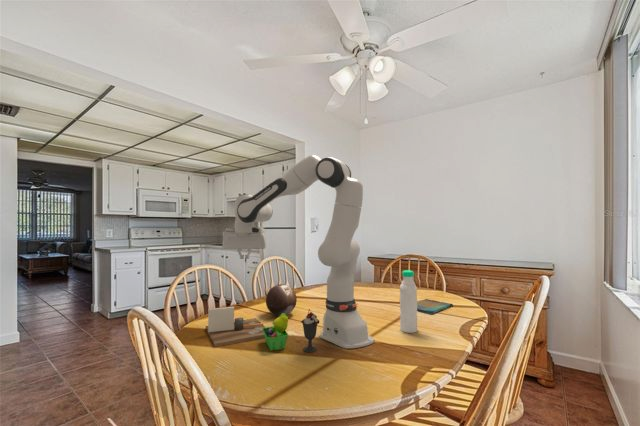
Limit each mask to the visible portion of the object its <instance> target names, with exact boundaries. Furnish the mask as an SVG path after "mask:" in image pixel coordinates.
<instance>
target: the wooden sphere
mask: <svg viewBox="0 0 640 426" xmlns="http://www.w3.org/2000/svg"><path fill="white" fill-rule="evenodd" d="M265 304H266V308H267V309H268V311H269V312H270V313H271V314H272V315H274V316H277V317H280V315H281V314H282V313H284V314H286V315H287V316H288V315H289V314H291V313H292V312H293V311H294V309H295V307H296V305H297V295H296V291H295V290H294V288H292V287H291V286H290V285H287V284H284V283H283V284H282V283H280V284H276V285H274V286H273V287H271V288H270V289H269V290H268V291H267V294H266V297H265Z"/></svg>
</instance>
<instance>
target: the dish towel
mask: <svg viewBox="0 0 640 426" xmlns="http://www.w3.org/2000/svg"><path fill="white" fill-rule="evenodd" d="M451 306H452V307H453V306H454V305H453V303H450V302H444V301H438V300H435V299H429V298H425V299H421V300H417V311H418V312H417V313H421V314H427V315H430V316H431V315H436V314H438V313H440V312H441V311H443V310H446V309H449V308H451Z"/></svg>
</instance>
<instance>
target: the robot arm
mask: <svg viewBox="0 0 640 426" xmlns="http://www.w3.org/2000/svg"><path fill="white" fill-rule="evenodd" d="M317 181H320V182H321V183H323V184H324V185H327V186H329V187H331V188H333V189H334V190H335V200H334V206H333V211H332V212H333V213H332V218H331V222H330V225H329V228H328V230H327V233H326V236H325V237H324V240H323V242H321V244H320V245H319V247H318V250H317V257H318V260H319V262H321V264H323V265H324V266H327V267H330V271H329V274H328V276H327V277H326V278H327V279H326V299H325V308H326V310H325V312H324V314H323V319H322V320H323V321H322V330H321V331H322V332H321V333H320V334H319V338H320V339H323V340H324V341H327V342H330V343H332V344H333V345H336V346H339V347H340V348H342V349H357V348H363V347H367V346H369V345H372V344H373V343H374V342H375V338H374V337H373V336H371V335H370V334H369V331H368V330H369V329H368V324H367V321H366V319H363V317H362V316H361V314H360V313H359V312H358V310H357V309H358V308H357V307H358V303H357V302H356V300H355V295H354V294H355V293H354V292H355V290H354V289H355V288H354V287H355V285H354V284H355V274H356V268H357V263H358V259H359V255H360V253H361V247H360V245H359V243H358V242H357V241H356V240H355V239H353V237H354V235H355V232H356V231H357V230H358V227H359V223H360V218H361V213H362V207H363V206H362V205H363V199H364V197H363V195H364V187H363V186H364V185H363V184H362V182H361V181H360V180H358V179H356V178H352V171H351V169H350V167H349V166H348V165H347V164H345V163H344V162H343V161H342V160H340V159H337V158H335V157H331V156H329V157H328V156H327V157H323V158H322V159H321V157H320V156H317V155H315V154H310V155H308V156H307V157H305V158H303V159H301V160H300V161H299V162H297V163H296V164H295V165H294V166H292V167H290V169H289V170H287V171H286V172H284V174H283V175H281V176H280V177H278V178H277V179H275V180H274V181H272V182H270V183H269V184H267V185H266V186H265V187H263V188H262V189H261V190H259V191H258V192H257V193H255V194H254V195H252V194H240V195H238V196H236V198H235V203H234V217H235V221H234V229H225V230H224V231H222V247H221V248H222V249H223V250H237V253H238V255H239V259H240V260H243V259H245V260H249V259H250V254H251V253H252V250H264V249H266V248H267V237H266V234H265V233H264V232H265V229H264V228H263V227H260V226H257V225H255V223H264V222H267V221H269V220H271V218H272V216H273V207H272V205H271V204H270V203H272V202H273V201H274V200H275V199H277V198H280V197H283V196H293V195H299V194H301V193H302V192H304V191H305V190H307V189H308V188H309V187H310V186H312V185H313V184H315V182H317ZM243 250H247V253H246V254H243V253H242V251H243Z"/></svg>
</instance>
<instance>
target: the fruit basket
mask: <svg viewBox="0 0 640 426" xmlns="http://www.w3.org/2000/svg"><path fill="white" fill-rule="evenodd" d="M288 321H289V317H288V314H287V315H286V314H284V313H282V314H281V315H280V316H277V318H274V320H273V323H272V326H269V327H266V326H265V327H266V328H263V332H264V335H265V338H264V339H265V343H266V345H267V346H268V348H269V350H270V351H277V350H283V349H285V347H286V344H287V340H288V339H287V338H288V337H289V334H288V332H287V331H286V330H287V328H288V323H289V322H288Z"/></svg>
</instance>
